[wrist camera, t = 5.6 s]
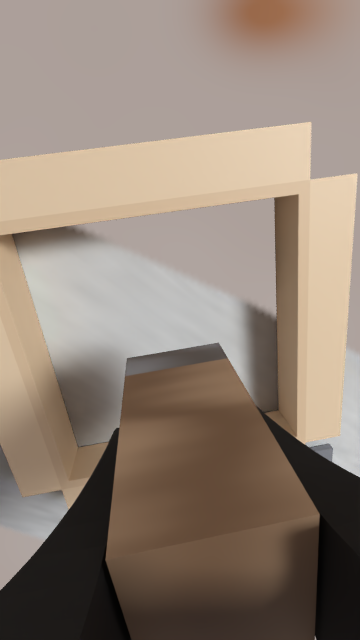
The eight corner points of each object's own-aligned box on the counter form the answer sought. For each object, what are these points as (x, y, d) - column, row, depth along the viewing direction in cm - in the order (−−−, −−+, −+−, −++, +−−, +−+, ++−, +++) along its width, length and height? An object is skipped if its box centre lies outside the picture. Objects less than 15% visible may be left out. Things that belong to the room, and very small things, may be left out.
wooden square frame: (47, 486, 23) (34, 524, 20) (-68, 180, 16) (-114, 173, 13) (315, 434, 25) (338, 463, 22) (325, 131, 17) (361, 115, 14)
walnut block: (146, 450, 15) (151, 699, 7) (126, 358, 13) (105, 559, 5) (227, 434, 15) (313, 659, 7) (218, 342, 13) (319, 514, 6)
